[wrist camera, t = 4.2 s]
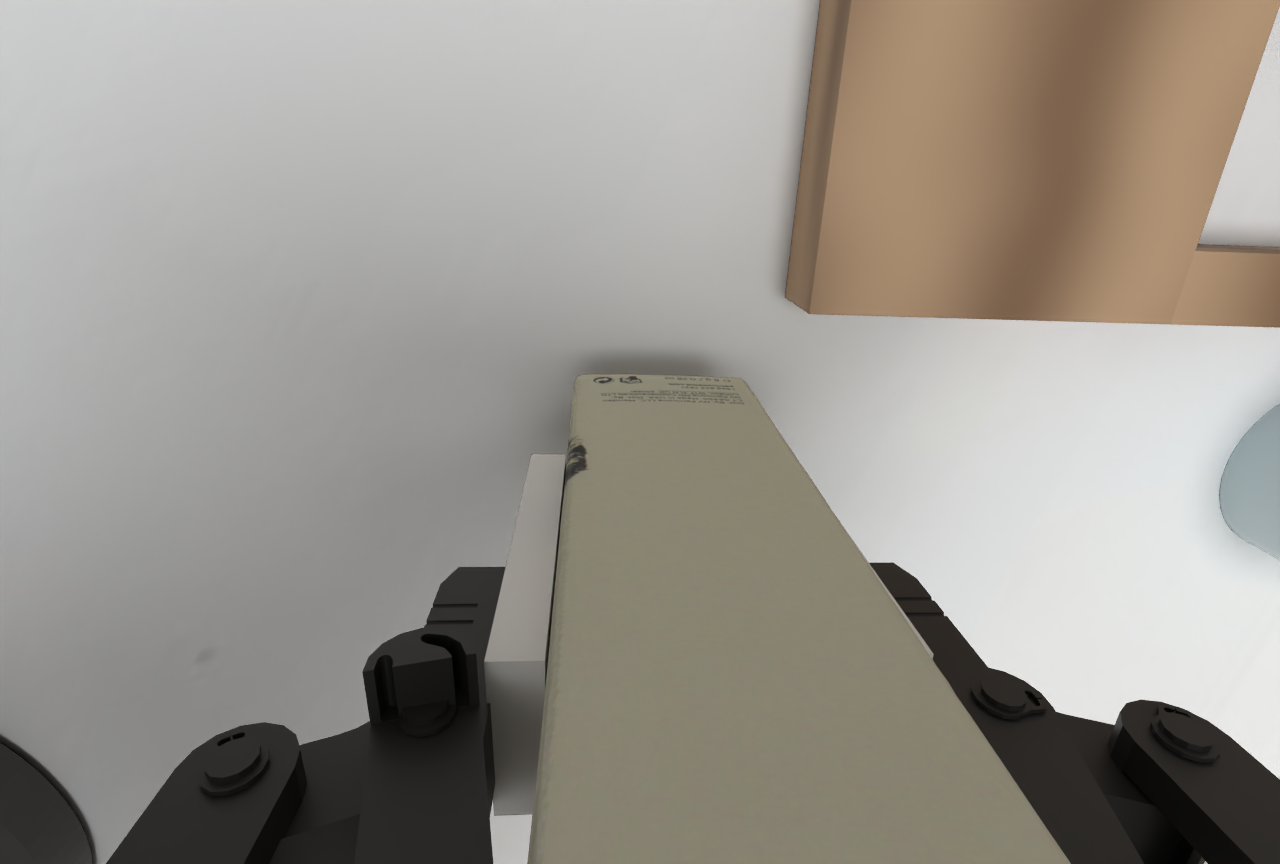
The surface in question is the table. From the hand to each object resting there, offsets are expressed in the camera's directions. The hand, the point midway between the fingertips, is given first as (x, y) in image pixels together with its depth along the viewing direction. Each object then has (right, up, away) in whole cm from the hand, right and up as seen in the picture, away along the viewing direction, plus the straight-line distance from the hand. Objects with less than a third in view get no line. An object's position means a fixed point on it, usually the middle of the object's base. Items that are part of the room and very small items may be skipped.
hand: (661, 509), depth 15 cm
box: (0, +1, +2) cm, 2 cm away
